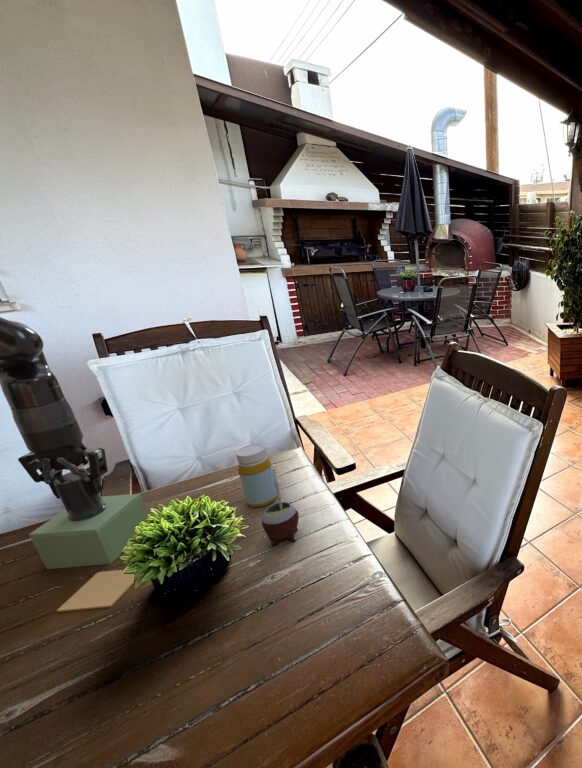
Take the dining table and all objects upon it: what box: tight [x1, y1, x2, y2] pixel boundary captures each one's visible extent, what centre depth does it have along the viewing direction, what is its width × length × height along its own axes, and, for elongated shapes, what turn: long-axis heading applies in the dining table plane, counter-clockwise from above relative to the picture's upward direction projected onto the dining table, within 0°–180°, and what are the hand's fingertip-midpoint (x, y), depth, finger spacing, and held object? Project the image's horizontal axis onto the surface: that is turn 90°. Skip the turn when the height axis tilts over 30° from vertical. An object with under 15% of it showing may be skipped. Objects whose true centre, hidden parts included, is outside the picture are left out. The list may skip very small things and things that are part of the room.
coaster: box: [56, 569, 135, 613], centre depth 78 cm, size 9×9×1 cm
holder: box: [53, 470, 107, 522], centre depth 84 cm, size 6×6×9 cm
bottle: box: [235, 443, 278, 508], centre depth 101 cm, size 7×7×15 cm
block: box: [28, 493, 149, 570], centre depth 87 cm, size 12×12×9 cm
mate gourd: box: [261, 468, 300, 548], centre depth 89 cm, size 8×8×15 cm
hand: (80, 495), depth 84 cm, fingers closed on holder, 5 cm apart
